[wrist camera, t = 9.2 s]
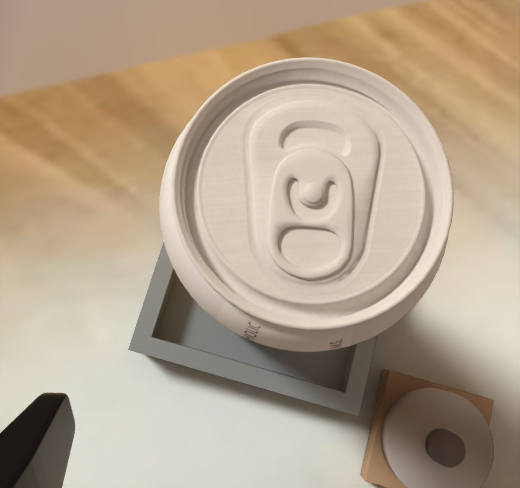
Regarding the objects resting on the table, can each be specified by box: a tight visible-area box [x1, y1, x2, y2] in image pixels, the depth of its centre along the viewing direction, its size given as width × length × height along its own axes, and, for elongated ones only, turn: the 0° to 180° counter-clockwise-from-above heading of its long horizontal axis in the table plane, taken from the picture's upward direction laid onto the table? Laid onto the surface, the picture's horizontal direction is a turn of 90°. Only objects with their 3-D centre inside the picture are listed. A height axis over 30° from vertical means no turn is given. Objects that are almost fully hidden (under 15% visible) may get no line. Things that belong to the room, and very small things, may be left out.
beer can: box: [159, 58, 453, 352], centre depth 16 cm, size 6×6×15 cm
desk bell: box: [360, 369, 494, 488], centre depth 22 cm, size 5×5×3 cm
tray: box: [128, 243, 377, 416], centre depth 23 cm, size 11×11×2 cm
